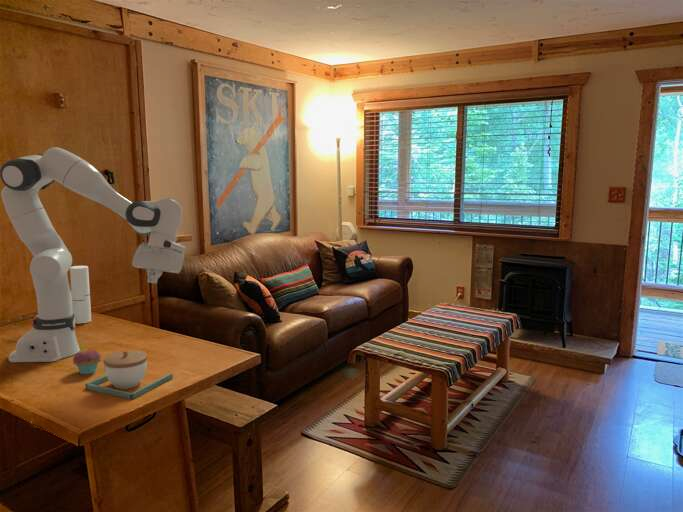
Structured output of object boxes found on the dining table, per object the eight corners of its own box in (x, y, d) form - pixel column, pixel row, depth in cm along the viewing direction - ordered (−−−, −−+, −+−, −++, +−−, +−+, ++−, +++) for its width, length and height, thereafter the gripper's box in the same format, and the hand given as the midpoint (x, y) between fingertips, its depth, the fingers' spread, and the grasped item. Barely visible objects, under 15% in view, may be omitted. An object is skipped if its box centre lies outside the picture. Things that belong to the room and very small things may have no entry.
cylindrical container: (95, 321, 230) (91, 266, 226) (81, 325, 223) (77, 269, 219) (83, 319, 232) (80, 265, 228) (69, 323, 226) (66, 267, 222)
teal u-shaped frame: (128, 369, 176) (128, 364, 176) (172, 378, 169) (172, 373, 169) (85, 388, 159) (85, 384, 159) (132, 399, 153) (131, 394, 152)
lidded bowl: (142, 373, 172) (141, 342, 170) (152, 387, 162) (151, 353, 160) (101, 381, 165) (99, 348, 163) (109, 396, 155) (107, 361, 153)
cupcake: (83, 378, 167) (80, 343, 165) (68, 372, 172) (65, 338, 170) (107, 370, 174) (105, 336, 172) (92, 365, 179) (90, 331, 177)
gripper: (133, 239, 181) (123, 277, 178) (177, 244, 172) (166, 284, 169) (146, 244, 186) (137, 281, 184) (189, 248, 177) (180, 287, 175)
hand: (151, 282), depth 176 cm, fingers closed
